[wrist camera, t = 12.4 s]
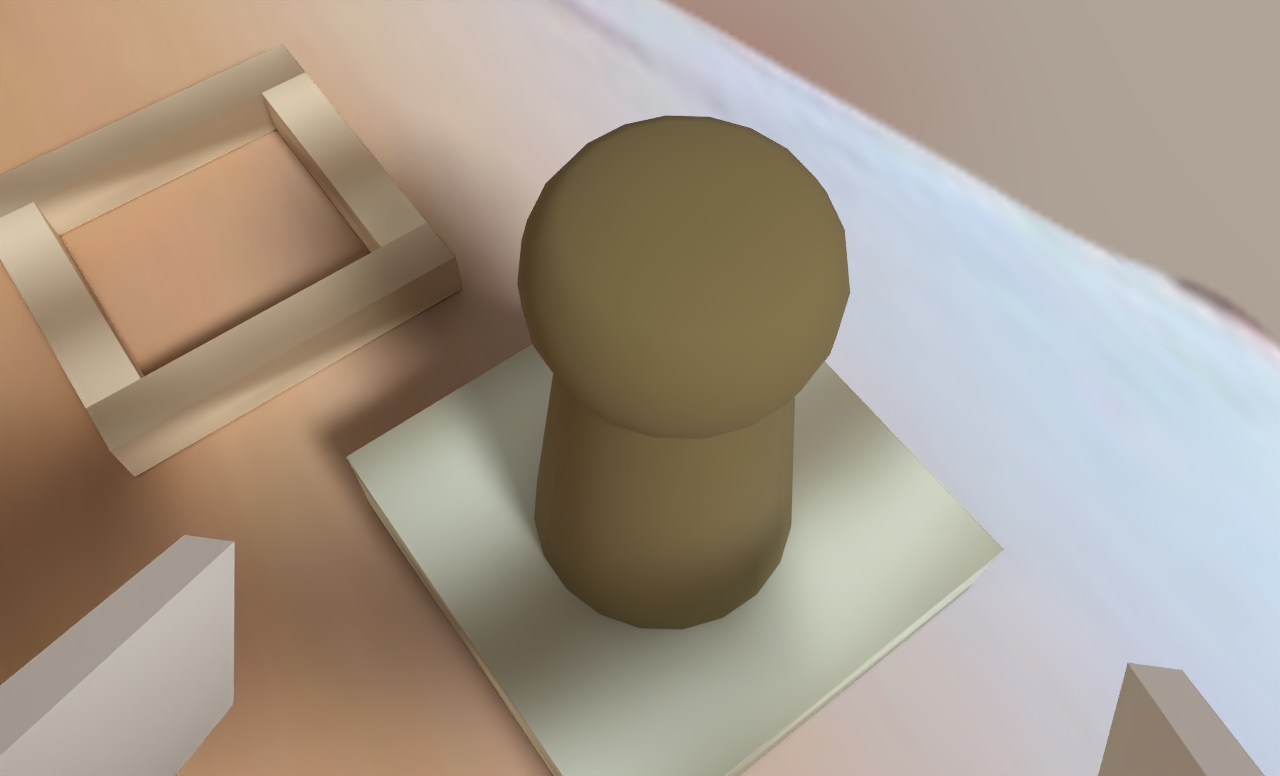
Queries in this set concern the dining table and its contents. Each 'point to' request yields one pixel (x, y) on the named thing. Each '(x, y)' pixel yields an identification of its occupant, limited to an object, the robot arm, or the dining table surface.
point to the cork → (676, 361)
